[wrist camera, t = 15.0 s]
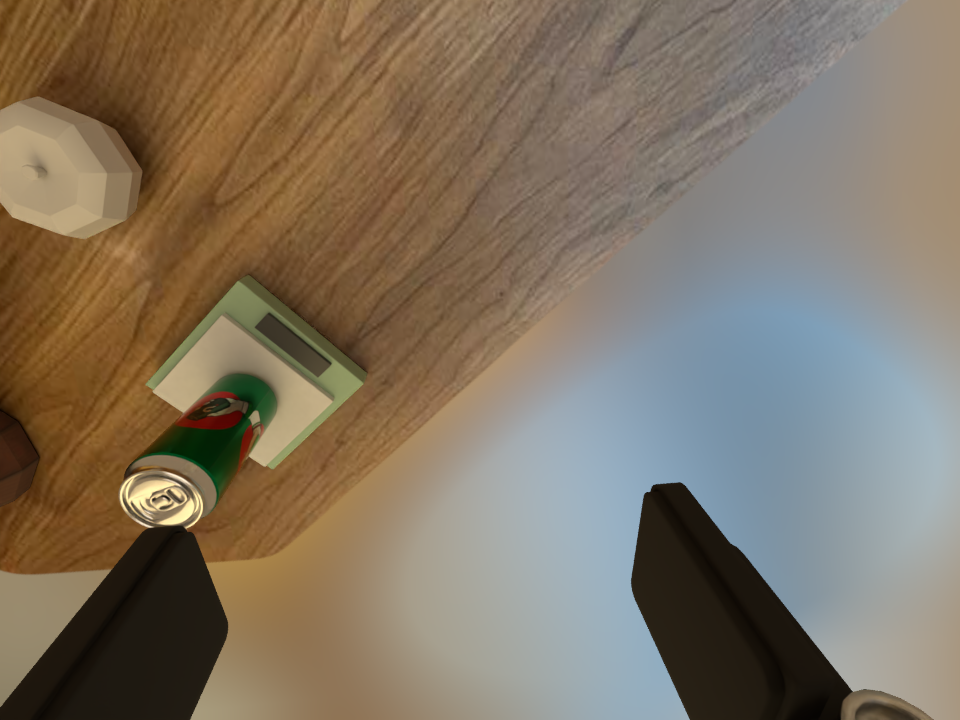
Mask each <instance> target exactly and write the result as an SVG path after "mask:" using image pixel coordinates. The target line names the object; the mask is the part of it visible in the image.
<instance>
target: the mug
mask: <svg viewBox="0 0 960 720" xmlns="http://www.w3.org/2000/svg"><path fill="white" fill-rule="evenodd" d="M38 460H39V457H38V455H37V453H36V452H35V450H34V448H33V446H32V445H31V443H30V441H29V440H28V438H27V436H26V434H25V433H24V431H23V429H22V428H21V426H20V424H19V423H18V421H16V420H14V419H13V418H11V417H10V416H8V415H6V414H5V413H3V412H1V411H0V507H1V506H3V505H5V504H8V503H10V502H13V501H14V500H15V499H17V498H18V497H19V496H20V495H22V494H23V493H24V492H25V491H27V490H28V489H29V488H30V485H31V482H32V479H33V476H34V473H35V470H36V467H37V463H38Z"/></svg>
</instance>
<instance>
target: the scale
mask: <svg viewBox="0 0 960 720" xmlns="http://www.w3.org/2000/svg"><path fill="white" fill-rule="evenodd" d="M236 373H240V374H248V375H251V376H254V377H256V378H259V379H260V380H262V381H263V382H265V383H266V384H267V385H268V386H269V387H270V388H271V389H272V391H273V392H274V394H275V396H276V399H277V405H278V406H277V412H276V415H275V417H274V419H273V420H272V422H271V423H270V425H269V426H268V428H267V429H266V431H265V432H264V434H263V435H262V437H261V438H260V440H259V441H258V443H257V444H256V446H255V448H254V449H253V451H252V452H251V454H250V455H249V457H251V458H252V459H254V460H255V461H257V462H258V463H260V464H261V465H263V466H264V467H265V466H266V465H267V466H268V467H270V468H271V469H274V468H275V467H276V466H277V465H278V464H279V463H280V462H281V461H282V460H283V459H284V458H286V457H287V456H288V455H289V454H290V453H291V452H292V451H293V450H294V449H295V448H296V447H297V446H298V445H299V444H300V443H301V442H302V441H304V440H305V439H306V438H307V437H308V436H309V435H310V434H311V433H312V432H313V431H314V430H315V429H316V428H317V427H318V426H319V425H321V424H322V423H323V422H324V421H325V420H326V419H327V418H328V417H329V416H330V415H331V414H332V413H333V412H334V411H335V410H336V409H337V408H339V407H340V406H341V405H342V404H343V403H344V402H345V401H346V400H347V399H348V398H349V397H350V396H351V395H352V394H353V393H354V392H355V391H357V390H358V389H359V388H360V387H361V386H362V385H363V384H364V381H365V379H366V376H367V373H366V372H365V371H364V370H363V369H361V368H360V367H359V366H358V365H357V364H355V363H354V362H353V361H352V360H351V359H349V358H348V357H347V356H346V355H345V354H343V353H342V352H341V351H340V350H339V349H337V348H336V347H335V346H334V345H333V344H331V343H330V342H329V341H328V340H327V339H325V338H324V337H323V336H322V335H321V334H319V333H318V332H317V331H316V330H315V329H313V328H312V327H311V326H310V325H309V324H307V323H306V322H305V321H304V320H303V319H301V318H300V317H299V316H298V315H297V314H295V313H294V312H293V311H292V310H291V309H289V308H288V307H287V306H286V305H285V304H283V303H282V302H281V301H280V300H279V299H277V298H276V297H275V296H274V295H273V294H271V293H270V292H269V291H268V290H267V289H265V288H264V287H263V286H262V285H261V284H259V283H258V282H257V281H256V280H255V279H253V278H252V277H251V276H250V275H247V276H245V277H243V278H241V279H240V280H238V281H237V282H236V283H235V284H234V285H233V287H232V288H231V289H230V290H229V291H228V292H227V293H226V294H225V295H224V297H223V298H222V299H221V300H220V301H219V302H218V303H217V304H216V306H215V307H214V308H213V309H212V310H211V311H210V312H209V313H208V315H207V316H206V317H205V318H204V319H203V320H202V321H201V322H200V323H199V325H198V326H197V327H196V328H195V329H194V330H193V331H192V332H191V334H190V335H189V336H188V337H187V338H186V339H185V340H184V341H183V342H182V344H181V345H180V346H179V347H178V348H177V349H176V350H175V351H174V353H173V354H172V355H171V356H170V357H169V358H168V359H167V360H166V362H165V363H164V364H163V365H162V366H161V367H160V368H159V369H158V370H157V372H156V373H155V374H154V375H153V376H152V377H151V378H150V379H149V381H148V382H147V383H146V385H147V386H148V387H150V388H151V389H153V393H155V394H156V395H158V396H159V397H161V398H162V399H164V400H165V401H167V402H168V403H170V404H171V405H173V406H174V407H176V408H177V409H179V410H180V411H182V412H183V413H184V412H185V411H186V410H187V409H188V408H189V407H190V406H191V405H192V404H193V403H194V402H195V401H197V400H198V399H199V398H200V397H201V396H202V395H203V394H204V393H205V392H206V391H207V390H208V389H209V388H210V387H211V386H212V385H213V384H214V383H215V382H216V381H217V380H219V379H220V378H222V377H224V376H226V375H230V374H236Z"/></svg>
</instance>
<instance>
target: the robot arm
mask: <svg viewBox="0 0 960 720" xmlns="http://www.w3.org/2000/svg"><path fill="white" fill-rule="evenodd" d="M631 586H632V592H633V595H634V598H635V600H636V602H637V605H638V607H639V609H640V611H641V614H642V615H643V618H644V620H645V622H646V625H647V627H648V629H649V631H650V633H651V636H652V638H653V640H654V642H655V644H656V646H657V648H658V651H659V653H660V655H661V657H662V660H663V662H664V664H665V666H666V668H667V671H668V673H669V675H670V677H671V679H672V682H673V684H674V686H675V688H676V690H677V692H678V695H679V697H680V699H681V701H682V703H683V705H684V708H685V710H686V712H687V714H688V716H689V719H690V720H933V719H932V718H931V717H930V716H928V715H927V714H926V713H924V712H923V711H922V710H920V709H919V708H917V707H915V706H913V705H911V704H910V703H908V702H906V701H904V700H902V699H901V698H898V697H896V696H893V695H890V694H887V693H884V692H882V691H875V690H867V689H863V690H859V691H855V692H853V691H852V690H851V689H850V688H849V686H848V685H847V684H846V683H845V681H844V680H843V679H842V678H841V676H840V675H839V674H838V672H837V671H836V670H835V669H834V667H833V666H832V665H831V664H830V663H829V661H828V660H827V659H826V657H825V656H824V655H823V654H822V652H821V651H820V650H819V648H818V647H817V646H816V645H815V644H814V642H813V641H812V640H811V639H810V637H809V636H808V635H807V633H806V632H805V631H804V630H803V628H802V627H801V626H800V624H799V623H798V622H797V621H796V619H795V618H794V617H793V616H792V614H791V613H790V612H789V611H788V609H787V608H786V607H785V606H784V604H783V603H782V602H781V600H780V599H779V598H778V597H777V595H776V594H775V593H774V592H773V590H772V589H771V588H770V587H769V585H768V584H767V583H766V582H765V580H764V579H763V578H762V576H761V575H760V574H759V573H758V571H757V570H756V569H755V568H754V566H753V565H752V564H751V563H750V561H749V560H748V559H747V558H746V556H745V555H744V554H743V553H742V552H741V551H740V550H739V549H738V548H737V547H736V546H734V545H732V544H730V542H729V541H728V540H727V539H726V537H725V536H724V535H723V534H722V532H721V531H720V530H719V528H718V527H717V526H716V525H715V523H714V522H713V521H712V519H711V518H710V517H709V515H708V514H707V513H706V512H705V510H704V509H703V508H702V507H701V505H700V504H699V503H698V501H697V500H696V499H695V497H694V496H693V495H692V494H691V492H690V491H689V490H688V489H687V488H686V486H685V485H683V484H682V483H680V482H679V483H667V484H656V485H653V486H652V488H651V491H650V492H646V493H645V494H644V498H643V504H642V511H641V518H640V524H639V532H638V538H637V545H636V552H635V558H634V565H633V571H632V578H631ZM227 633H228V621H227V618H226V615H225V613H224V610H223V607H222V605H221V602H220V600H219V597H218V595H217V592H216V589H215V587H214V584H213V582H212V579H211V576H210V574H209V571H208V569H207V566H206V564H205V561H204V558H203V556H202V553H201V551H200V548H199V545H198V543H197V540H196V538H195V536H194V534H193V533H192V532H187V530H186V529H185V527H183V526H182V525H176V526H164V527H153V528H148V529H146V530H145V531H144V532H142V533H141V534H140V536H139V537H138V538H137V539H136V541H135V542H134V543H133V544H132V546H131V547H130V548H129V549H128V550H127V552H126V553H125V554H124V555H123V557H122V558H121V559H120V560H119V562H118V563H117V564H116V565H115V567H114V568H113V569H112V570H111V571H110V573H109V574H108V575H107V576H106V578H105V579H104V580H103V581H102V583H101V584H100V585H99V586H98V587H97V589H96V590H95V591H94V592H93V594H92V595H91V596H90V597H89V599H88V600H87V601H86V602H85V604H84V605H83V606H82V607H81V609H80V610H79V611H78V612H77V613H76V615H75V616H74V617H73V618H72V620H71V621H70V622H69V623H68V625H67V626H66V627H65V628H64V630H63V631H62V632H61V633H60V634H59V636H58V637H57V638H56V639H55V641H54V642H53V643H52V644H51V645H50V647H49V648H48V649H47V650H46V652H45V653H44V654H43V655H42V657H41V658H40V659H39V660H38V662H37V663H36V664H35V665H34V666H33V668H32V669H31V670H30V671H29V673H28V674H27V675H26V676H25V678H24V679H23V680H22V681H21V683H20V684H19V685H18V686H17V688H16V689H15V690H14V691H13V692H12V694H11V695H10V696H9V697H8V699H7V700H6V701H5V702H4V704H3V705H2V706H1V707H0V720H190V719H191V716H192V714H193V712H194V710H195V707H196V705H197V703H198V701H199V699H200V696H201V694H202V692H203V690H204V687H205V685H206V683H207V681H208V679H209V676H210V674H211V672H212V670H213V667H214V665H215V663H216V661H217V658H218V656H219V654H220V652H221V650H222V647H223V645H224V643H225V640H226V637H227Z"/></svg>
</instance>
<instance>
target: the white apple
mask: <svg viewBox="0 0 960 720" xmlns="http://www.w3.org/2000/svg"><path fill="white" fill-rule="evenodd" d="M141 178H142V169H141V168H140V166H139V165H138V163H137V162H136V160H135V158H134V157H133V155H132V154H131V152H130V151H129V149H128V148H127V146H126V144H125V143H124V141H123V140H122V138H121V137H120V135H119V134H118V132H117V131H116V129H114V128H112V127H110V126H108V125H106V124H104V123H102V122H100V121H98V120H95V119H93V118H90V117H88V116H86V115H83V114H81V113H78V112H76V111H73V110H71V109H68V108H66V107H63V106H61V105H58V104H56V103H54V102H51V101H49V100H46V99H44V98H41V97H39V96H38V97H34V98H30V99H26V100H23V101H19V102H16V103H14V104H12V105H10V106H8V107H6V108H4V109H2V110H0V203H1V204H2V205H3V206H4V207H5V209H6V210H7V211H8V212H9V214H10V215H11V216H12V217H13V218H16V219H19V220H22V221H25V222H28V223H30V224H33V225H36V226H39V227H42V228H45V229H48V230H50V231H53V232H56V233H59V234H62V235H66V236H71V237H76V238H81V239H86V238H88V237H91V236H93V235H95V234H97V233H99V232H102V231H104V230H106V229H108V228H110V227H112V226H115V225H117V224H119V223H121V222H123V221H125V220H127V219H128V218H129V217H130V216H131V215H132V214H133V213H134V212H135V211H136V209H137V203H138V196H139V190H140V184H141Z"/></svg>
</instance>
